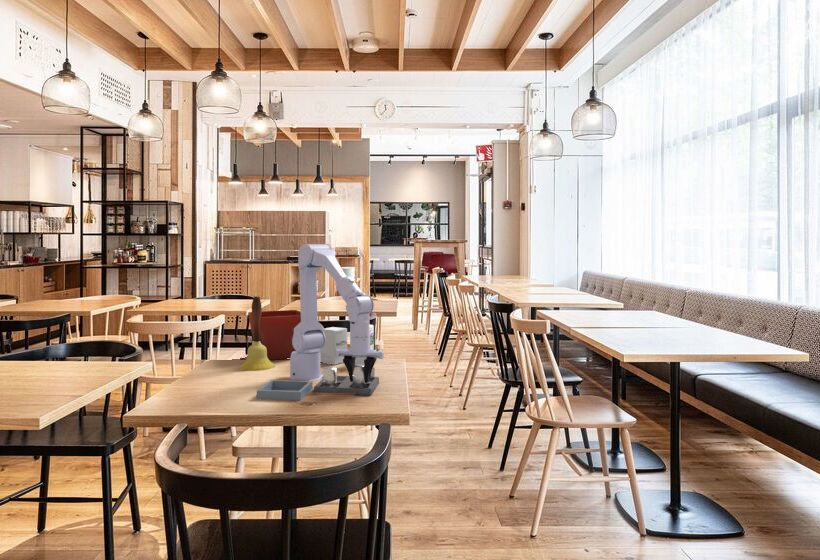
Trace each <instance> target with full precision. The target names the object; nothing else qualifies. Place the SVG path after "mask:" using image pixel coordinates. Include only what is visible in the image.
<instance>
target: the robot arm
mask: <svg viewBox="0 0 820 560" xmlns="http://www.w3.org/2000/svg"><path fill="white" fill-rule="evenodd" d="M297 257H298V258H297V259H298V261H297V262H298V271H299V272H298V274H299V302H300V304H299V305H300V312H301V322H300V323H299V324H298V325H297V326H296V327H295V328H294V335H293V338H292V344H293V347H294V349H295V350H296V351H293V352H292V354H291V358H289V360H290V361H289V365H290V366H289V375H290V376H289V377H290V378H289V379H290V380H298V381H319V380H320V379H321V380H322V379H323V373H321V372H322V371H321V370H322V369H321V364H322V363H320V351H322V348H323V347H324V346H325V343H326V336H325V334H324V326H323V325H322V324H321V323H320V322H319V320H318V318H319V317H318V293H317V291H318V290H317V288H318V287H317V285H318V284H317V273H318V272H319V271H320V270H321V269H323V268H324V269H325V271H326V272H327V273H328V274H329V275H330V277H331V278H332V279H333V281H334V282H335V283H336V284H335V285H336V286H335V288H336V291H337V292H338V293H339V295H340V296H341V298H342V299H343V301H344V302H345V303H346V305H345V311H346V313H347V315H348V317H347V318H348V321H349V333H350V334H349V338H350V340H349V344H350V345H349V348H347V349H337V350H336V357H340V356H342V357H344V359H343V364H344V366H345V368H346V370H347V373H348V376H349V377H350V382H353V374H352V366H353V365H355V360H356V357H361V358H367V359H365V360H364V365H365V383H368V382H369V380H370V375H371V371H372V368H374V366H375V364H376V362H377V359H379V360H383V359H385V351H380V350H375V349H374V350H369V336H370V325H371V323H370V322H371V321H370V317H371V316H370V315H371V313H372V312H373V311H374V308H375V307H374V305H375V304H374V301H373V299H372V296H371V295H369V294H366V293H365V292H363V291H362V290H361V288H360V287H359V286H358V284H357V283H356V281H355V279H354V278H353V277H351V276H347V275H346V274H345V272H344V270H343V268H342V267H341V265H340V264H339V262H338V260H337V259H336V251H335V249H334V248H333V246H332V245H331V244H329V243H324V244H323V243H322V244H320V243H319V244H316V243H314V244H312V243H304V244H302V246H301V247H300V248H299V249H298V251H297ZM362 355H365V356H362Z"/></svg>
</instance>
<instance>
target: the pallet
mask: <svg viewBox="0 0 820 560" xmlns="http://www.w3.org/2000/svg"><path fill="white" fill-rule="evenodd" d="M379 384H380V376H374V377H370V380H369V382H368V383H366V388H353V382H350V377H349V375H337V387H323V378H321V380H320V381H319V382H318V383H316V385H314V387H313V392H314V393H317V392H318V393H335V394H336V393H338V394H339V393H340V394H341V393H342V394H354V396H372V395H373V393H374V392H375V391H376V389H377V388H378V386H379Z"/></svg>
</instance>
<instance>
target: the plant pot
mask: <svg viewBox="0 0 820 560" xmlns="http://www.w3.org/2000/svg"><path fill="white" fill-rule="evenodd" d="M247 314H248V321H249V326H250V332H251V335H252V339H253V340H254V320H253V317H252V311H249V312H248V313H247ZM300 322H301V311H299V310H297V309H290V310H289V309H286V310H262V314H261V318H260V342H261V344H262V345H264V346H265V347H266V349H267V358H268V359H269V360H270V361H272V360H282V359H283V360H284V359H290V358H291V354H292V352H293V351H296V350H295V349H294V347H293V344H292V338H293V335H294V328H295V327H296V326H297V325H298V324H299V323H300Z"/></svg>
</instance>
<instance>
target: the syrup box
mask: <svg viewBox="0 0 820 560" xmlns="http://www.w3.org/2000/svg"><path fill="white" fill-rule="evenodd" d="M374 326H375V325H374V324H370V336H369V350H374V351H375V336H374V334H375V333H374V331H375V329H374V328H375V327H374ZM362 356H365V355H362ZM365 359H367V358H361V357H356V360H355V364H364V360H365Z"/></svg>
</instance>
